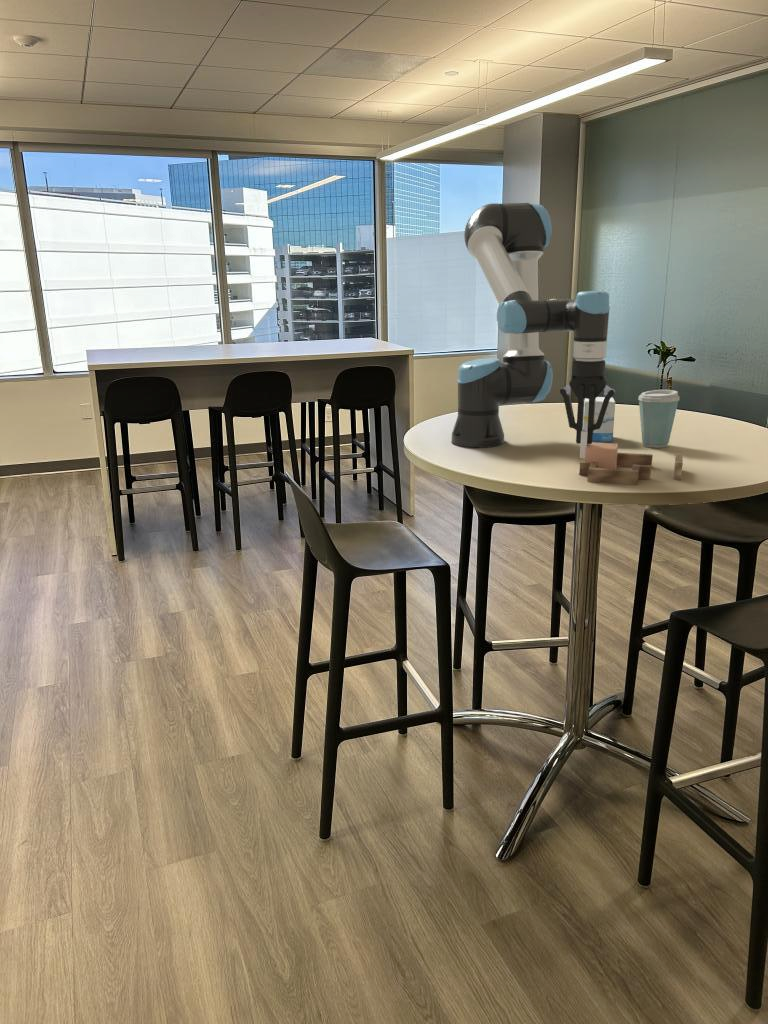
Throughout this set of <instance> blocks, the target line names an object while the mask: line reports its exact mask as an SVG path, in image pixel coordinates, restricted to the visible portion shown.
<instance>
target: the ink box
mask: <svg viewBox="0 0 768 1024" xmlns="http://www.w3.org/2000/svg"><path fill="white" fill-rule="evenodd" d="M605 397H606V396H597V397H596V400H595V414H594V424H596V423H597V420H598V416H599V413H600V410H601V407H602V404H603V401H604V398H605ZM615 411H616V401H615V399H614V397H613V396H612V397H611V398H610V400H609V404H608V407H607V410H606V413H605V416H604V419H603V422H602V425H601V427H600V429H596V430H594V431H593V441H592V442H595V443H613V439H614V425H615V413H616V412H615ZM588 412H589V399H587V398H585V401H584V415H583V428H582V430H583V429H584V430H587V429H588Z"/></svg>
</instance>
